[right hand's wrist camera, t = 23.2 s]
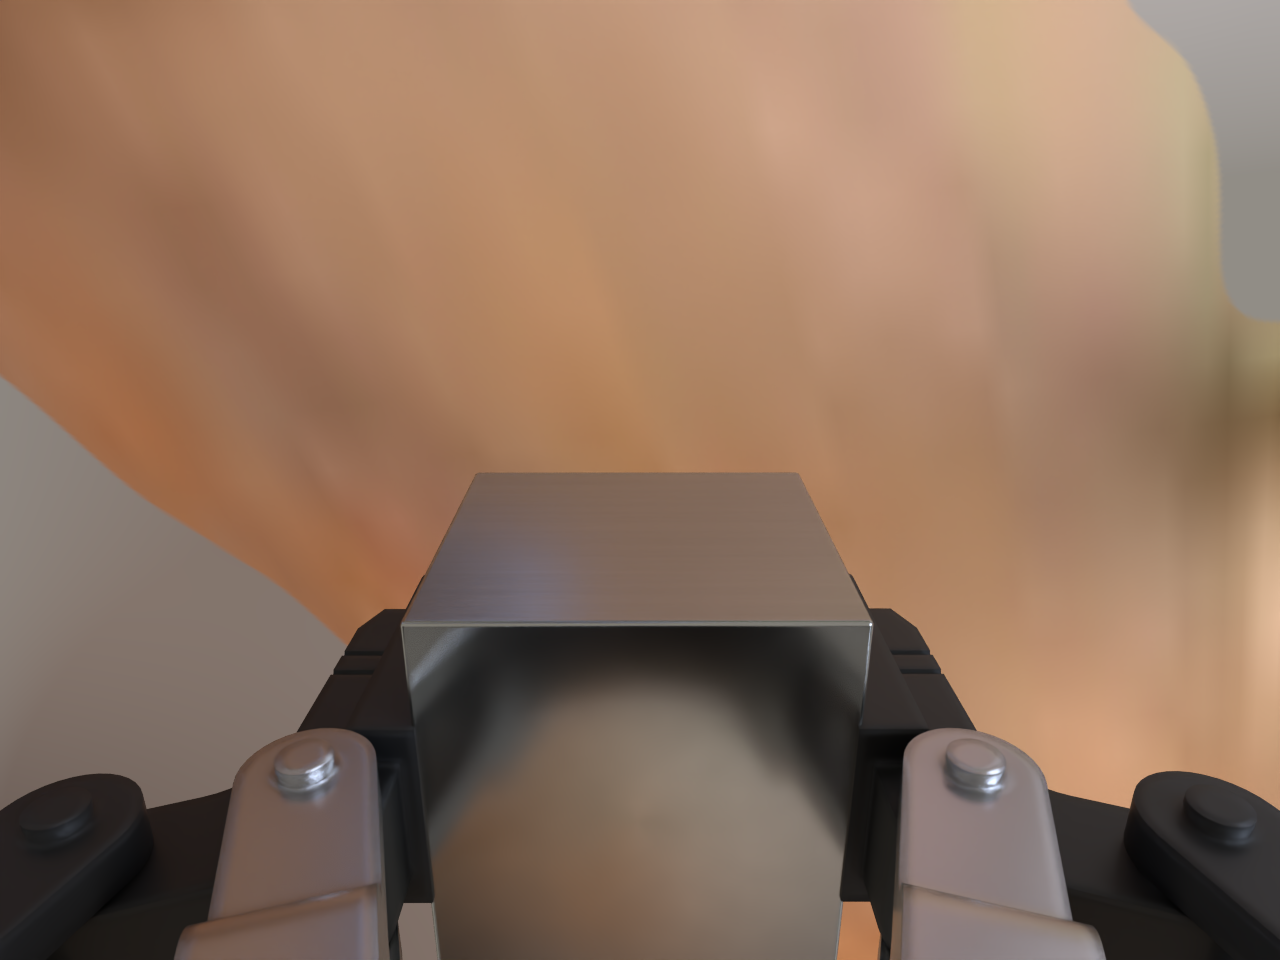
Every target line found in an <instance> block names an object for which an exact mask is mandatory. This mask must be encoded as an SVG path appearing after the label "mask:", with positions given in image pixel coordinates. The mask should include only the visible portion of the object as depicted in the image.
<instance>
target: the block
mask: <svg viewBox="0 0 1280 960" xmlns="http://www.w3.org/2000/svg"><path fill="white" fill-rule="evenodd" d="M873 625H874V624H873V622H872V619H871V617H870V615H869V613H868V611H867V609H866V607H865V605H864V603H863V601H862V599H861V597H860V595H859V593H858V591H857V589H856V587H855V585H854V583H853V581H852V579H851V577H850V575H849V573H848V571H847V569H846V567H845V565H844V563H843V561H842V559H841V557H840V555H839V553H838V551H837V549H836V547H835V545H834V543H833V541H832V539H831V537H830V535H829V533H828V531H827V529H826V527H825V525H824V523H823V521H822V519H821V517H820V515H819V513H818V511H817V509H816V507H815V506H814V504H813V502H812V500H811V498H810V496H809V494H808V492H807V490H806V488H805V486H804V484H803V482H802V480H801V478H800V476H799V474H798V473H477V474H476V475H475V477H474V479H473V481H472V483H471V485H470V487H469V489H468V491H467V493H466V495H465V497H464V499H463V501H462V503H461V505H460V507H459V509H458V511H457V513H456V515H455V517H454V519H453V521H452V522H451V524H450V526H449V528H448V530H447V532H446V534H445V536H444V538H443V540H442V542H441V544H440V546H439V548H438V550H437V552H436V554H435V556H434V558H433V560H432V562H431V564H430V566H429V568H428V570H427V572H426V574H425V576H424V578H423V580H422V582H421V584H420V586H419V588H418V590H417V592H416V594H415V596H414V598H413V600H412V601H411V603H410V605H409V607H408V609H407V611H406V613H405V615H404V617H403V619H402V621H401V624H400V627H401V636H402V645H403V654H404V663H405V672H406V681H407V690H408V699H409V708H410V717H411V724H412V726H414V727H415V729H416V738H417V747H418V756H419V765H420V774H421V783H422V792H423V801H424V810H425V819H426V828H427V838H428V847H429V856H430V865H431V874H432V883H433V892H434V902H433V903H431V904H432V913H433V922H434V931H435V940H436V949H437V958H438V960H837V954H838V945H839V936H840V926H841V917H842V908H843V902H841V900H840V894H841V885H842V876H843V866H844V857H845V848H846V839H847V829H848V820H849V811H850V801H851V792H852V783H853V773H854V764H855V755H856V745H857V736H858V727H859V726H861V725H862V724H863V716H864V707H865V698H866V689H867V680H868V671H869V662H870V652H871V643H872V634H873Z"/></svg>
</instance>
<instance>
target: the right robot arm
mask: <svg viewBox="0 0 1280 960" xmlns="http://www.w3.org/2000/svg"><path fill="white" fill-rule="evenodd" d="M849 575H850V577H851V579H852V581H853V583H854V585H855V587H856V589H857V591H858V593H859V595H860V597H861V599H862V601H863V603H864V605H865V607H866V609H867V611H868V613H869V615H870V617H871V619H872V622H873V624H874V625H873V634H872V643H871V652H870V662H869V671H868V680H867V689H866V698H865V707H864V716H863V724H862V725H861V726H859V727H858V736H857V745H856V755H855V764H854V773H853V783H852V792H851V801H850V811H849V820H848V829H847V839H846V848H845V857H844V866H843V876H842V885H841V894H840V900H841V902H871V905H872V909H873V912H874V915H875V918H876V922H877V925H878V928H879V931H880V941H879V949H878V960H1280V811H1279V810H1278V809H1276V808H1275V807H1274V806H1272V805H1271V804H1269V803H1268V802H1266V801H1265V800H1263V799H1262V798H1260V797H1258V796H1257V795H1255V794H1253V793H1251V792H1249V791H1247V790H1245V789H1243V788H1241V787H1239V786H1236V785H1234V784H1232V783H1229V782H1226V781H1223V780H1221V779H1218V778H1214V777H1210V776H1207V775H1202V774H1197V773H1192V772H1181V771H1166V772H1160V773H1155V774H1152V775H1149V776H1147V777H1145V778H1144V779H1142V780H1141V781H1140V782H1139V783H1138V784H1137V786H1136V788H1135V791H1134V794H1133V798H1132V802H1131V806H1130V809H1129V808H1124V807H1120V806H1115V805H1111V804H1106V803H1101V802H1097V801H1092V800H1087V799H1083V798H1078V797H1074V796H1069V795H1065V794H1062V793H1058V792H1055V791H1052V790H1049V789H1048V787H1047V783H1046V780H1045V777H1044V774H1043V773H1042V771H1041V769H1040V768H1039V766H1038V765H1037V764H1036V763H1035V762H1034V761H1033V760H1032V759H1031V758H1030V757H1029V756H1028V755H1027V754H1026V753H1024V752H1023V751H1021V750H1020V749H1018V748H1017V747H1016V746H1014V745H1012V744H1010V743H1008V742H1006V741H1004V740H1002V739H1000V738H997V737H995V736H992V735H989V734H986V733H983V732H979V731H977V730H976V729H975V727H974V725H973V723H972V722H971V720H970V718H969V717H968V715H967V713H966V711H965V710H964V708H963V706H962V705H961V703H960V701H959V699H958V698H957V696H956V694H955V693H954V691H953V689H952V687H951V686H950V684H949V682H948V681H947V679H946V677H945V675H944V674H941V669H940V667H939V665H938V663H937V662H936V660H935V658H934V657H933V655H930V650H929V648H928V646H927V645H926V643H925V641H924V639H923V638H922V636H921V634H920V633H919V631H918V629H917V628H916V627H915V626H913V625H912V624H911V623H909V622H908V621H907V620H905V619H904V618H903V617H901V616H900V615H899V614H897V613H896V612H894V611H893V610H892V609H869V608H868V606H867V604H866V602H865V600H864V598H863V596H862V594H861V592H860V590H859V588H858V586H857V584H856V582H855V580H854V578H853V576H852V575H851V574H849ZM424 576H425V575H424ZM424 576H423V577H422V579H421V581H420V583H419V585H418V586H417V588H416V590H415V592H414V594H413V596H412V598H411V600H410V602H409V604H408V606H407V608H406V609H384V610H383V611H382V612H380V613H379V614H377V615H376V616H375V617H373V618H372V619H371V620H369V621H368V622H366V623H365V624H364V625H362V626H361V627H360V628H358V630H357V631H356V633H355V635H354V636H353V638H352V640H351V641H350V643H349V645H348V646H347V648H346V650H345V655H344V656H342V657H341V658H340V660H339V662H338V663H337V665H336V667H335V668H334V674H333V675H330V677H329V679H328V680H327V682H326V684H325V685H324V687H323V689H322V690H321V692H320V694H319V695H318V697H317V699H316V701H315V702H314V704H313V706H312V707H311V709H310V711H309V712H308V714H307V716H306V717H305V719H304V721H303V723H302V724H301V726H300V728H299V729H298V731H297V733H294V734H291V735H288V736H285V737H283V738H280V739H278V740H276V741H274V742H272V743H270V744H268V745H266V746H264V747H263V748H261V749H260V750H259V751H257V752H256V753H254V754H253V755H252V756H251V757H250V758H249V759H248V760H247V761H246V762H245V763H244V764H243V765H242V766H241V768H240V769H239V771H238V773H237V774H236V776H235V779H234V782H233V787H232V788H231V789H228V790H225V791H222V792H219V793H217V794H213V795H209V796H205V797H201V798H196V799H192V800H187V801H183V802H178V803H173V804H169V805H164V806H160V807H155V808H150V809H146V805H145V801H144V797H143V794H142V791H141V789H140V787H139V786H138V785H137V784H136V783H135V782H134V781H132V780H131V779H129V778H126V777H123V776H120V775H114V774H89V775H82V776H77V777H72V778H68V779H65V780H61V781H57V782H55V783H52V784H49V785H46V786H44V787H41V788H39V789H37V790H35V791H32V792H30V793H28V794H27V795H25V796H23V797H21V798H19V799H17V800H16V801H14V802H13V803H11V804H10V805H8V806H7V807H5V808H4V809H2V810H1V811H0V960H402V949H401V942H400V934H399V926H398V919H399V916H400V912H401V909H402V906H403V903H433V902H434V892H433V883H432V874H431V865H430V856H429V847H428V838H427V828H426V819H425V810H424V801H423V792H422V783H421V774H420V765H419V756H418V747H417V738H416V729H415V727H414V726H412V724H411V717H410V708H409V699H408V690H407V681H406V672H405V663H404V654H403V645H402V636H401V627H400V624H401V621H402V619H403V617H404V615H405V613H406V611H407V609H408V607H409V605H410V603H411V601H412V600H413V598H414V596H415V594H416V592H417V590H418V588H419V586H420V584H421V582H422V580H423V578H424Z"/></svg>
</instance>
